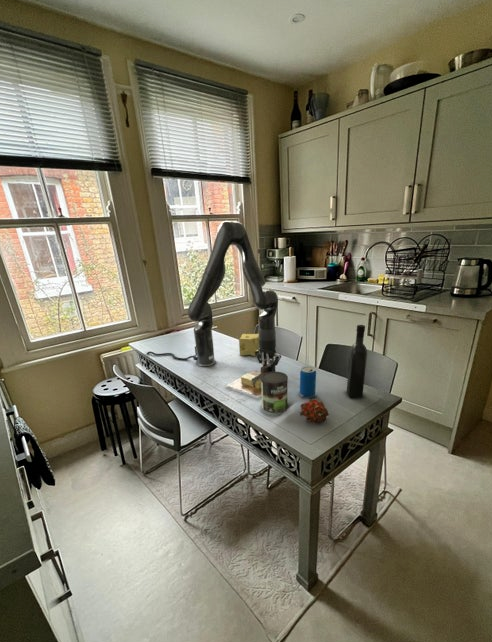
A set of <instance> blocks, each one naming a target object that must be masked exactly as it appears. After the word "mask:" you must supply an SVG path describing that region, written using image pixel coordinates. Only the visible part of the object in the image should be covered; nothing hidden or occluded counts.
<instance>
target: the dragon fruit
mask: <svg viewBox="0 0 492 642" xmlns="http://www.w3.org/2000/svg"><path fill="white" fill-rule="evenodd" d="M300 408H301V409H300V410H301V411H299V415H300V417H306V421H307V422H312V423H315V424H317V423H321V422H322V423H324V422H327V417H328V416H330V414H329V411H328V409H327V407H326V406H325V404H324V402H322V401H318V400H317V399H310V400H309V401H308V402H304V403H301V404H300Z"/></svg>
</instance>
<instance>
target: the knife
mask: <svg viewBox="0 0 492 642" xmlns="http://www.w3.org/2000/svg"><path fill="white" fill-rule="evenodd" d="M260 372H261V373H260V374H259V375H257V376H255V377H254V378H252V385H253V384H255V381H257V380H258V379H260V378H261V375H262V374H264V373H267V372H269V363H268V362H267V364H266V365H264V366H263V365H262V366H261V367H260ZM274 372H276V366H275V367H274Z"/></svg>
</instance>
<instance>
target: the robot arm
mask: <svg viewBox="0 0 492 642" xmlns="http://www.w3.org/2000/svg"><path fill="white" fill-rule="evenodd" d="M230 246H235V247H236V248H237V250H238V252H239V253H240V257H241V262H242V263H241V268H242V272H243V275H244V278H245V280H246V282H247V284H248V286H249V289H250V293H251V298H252V302H253V305H254V306H255V308H257V309H258V310H260V311H262V312H261V313H260V314H259V315H258V320H257V321H258V330H257V331H258V332H257V334H258V336H259V348H260V349H259V350H257V351H255V355H256V356H255V358H256V359H257V363H258V364H261V365H262V367H263V366H264V365H266V364H268V363H269V372H274V367H275V368H276V366H278V364H279V363H280V360H281V358H282V355H281V354H278V353H277V350H276V347H277V337H276V335H277V333H276V319H275V318H276V314H277V310H278V305H279V297H278V294H277V292H276V291H274V290H272V289H269V290H265V291H264V290H263V287H264V286H265V285H266V278H265V276H264V274H263V273H262V270H261V268H260V266H259V263H258V261H257V260H256V257H255V254H254V250H253V248H252V245H251V241H250V238H249V236H248V231H247V230H246V227H245V226H244V224H243V223H241V222H239V221H231V220H225V221H222V222H221V223H220V225H219V226H218V228H217V231H216V235H215V238H214V241H213V246H212V249H211V253H210V255H209V258H208V261H207V264H206V266H205V268H204V272H203V273H202V276H201V279H200V281H199V284H198V287H197V289H196V291H195V294H194V296H193V298H192V300H191V301H190V303H189V305H188V309H187V316H188V318H189V320H190V321H191V322H194V323H197V324H196V325H195V326H194V327H193V335H194V345H195V346H194V353H195V354H193V355H190V356H188V357H178V356H175V354H174V353H172V352H164V353H155V352H154V351H148V352H147V353H146V355H150V354H152V355H154V356H167V355H168V356H172V358H174V359H176V360H180V361H188V360H189V359H192V358H193V360H194V361H196V364H197V365H198V366H199V367H211V366H213V365H215V364H216V358H215V347H214V339H213V327H214V325H213V324H214V322H213V319H214V318H213V310H212V307H211V306H212V305H211V304H210V303H209V301H210V300H211V298H212V297H213V296H214V294H215V293H216V292H217V291H218V290H219V288H220V287H221V285H222V283H223V280H224V279H225V276H226V262H225V261H226V259H225V258H226V255H227V252H228V250H229V248H230Z"/></svg>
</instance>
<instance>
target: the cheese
mask: <svg viewBox="0 0 492 642" xmlns="http://www.w3.org/2000/svg"><path fill="white" fill-rule="evenodd" d="M238 346H239V347H238V349H239V356H253V357H256V355H255V351H257V350H259V349H260V348H259V336H258V333H242V335H241V336H240V338H239V339H238Z"/></svg>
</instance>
